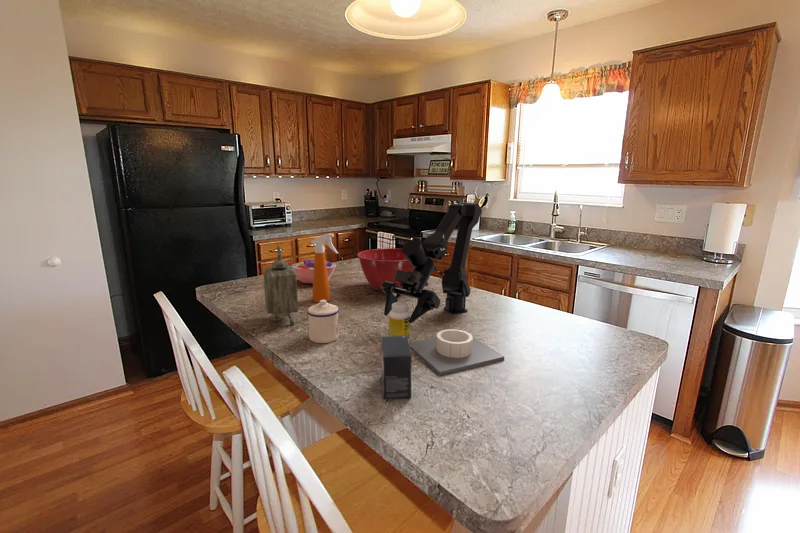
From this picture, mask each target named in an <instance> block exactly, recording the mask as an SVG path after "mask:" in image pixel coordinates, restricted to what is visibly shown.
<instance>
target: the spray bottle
mask: <svg viewBox="0 0 800 533" xmlns="http://www.w3.org/2000/svg"><path fill="white" fill-rule="evenodd" d="M334 237H335V234H334V233H330V232H329V233H324V234H321V235H319V236H318V237H317V236H316V237H315V238H314V239H312V240H311V242H310V243H312V244H314V245H315V247H314V260H313V261H314V277H313V284H312V296H311V301H312V302H314V303H317V304H318V303H319V302H320V300H326V303H328V302H329V301H331V291H330V283H329V279H328V274H327V266H326V261H327V259H326V250H325V249H326V248H325V247H324V244H326V245H327V247H328V248H329V249H330V250H332V251H333V252H334V253H335V254H339V252H338V251H337V249H336V247H335V246H334V245H333V242H332V238H334Z"/></svg>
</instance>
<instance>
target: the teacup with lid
mask: <svg viewBox="0 0 800 533" xmlns="http://www.w3.org/2000/svg"><path fill="white" fill-rule="evenodd" d="M339 312H340V309H339V307H338V305H335V304H331V303H329V302H326V300H320V302H319V303H318V302H317V303H316V304H313V305H311V306H309V307H308V308H307V315H308V316H307V317H308V318H307V319H308V337H309V340H310V341H311V342H313V343H316V344H327V343H328V344H329V343H332V342H334V341H336V340H338V339H339V336H340V335H339Z"/></svg>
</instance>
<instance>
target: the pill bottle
mask: <svg viewBox="0 0 800 533" xmlns="http://www.w3.org/2000/svg"><path fill="white" fill-rule="evenodd" d="M408 307H409V306H408V303H406V302H403V301H397V302H396V303H393V304H392V310H391V311H390V312H389V314H388V336H407V338H408V342H409V340H410V330H411V323H410V322H409V320H410V317H411V314H410V311H408V309H409V308H408Z"/></svg>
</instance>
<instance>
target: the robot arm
mask: <svg viewBox="0 0 800 533" xmlns="http://www.w3.org/2000/svg"><path fill="white" fill-rule="evenodd" d="M482 213H483V210H482V206H480V204H479V203H477V202H464V201H463V202H460V203H451V204H449V206H448V208H447V212H446V214H444V216H443V218H442V220H441V222H439V224H438V226H437V228H436V229H435V231H434V232H433V233H432V234H429V235H428V236H427V237H426V238H425V239H424V240H423V241H422V240H421V238H420V237H413V239H411V240H409V241H406V243H405V244H403V245H402V248H401V249H402V252H403V254H404V255H405V257H406V258H407V260H408V261H409V263H410V264H411V265H413V266H414V267H413V269H412V271H408V272H405V271H400V270H397V271H396V275H395V278H394V281H398V282H400V285H401V286H402V287H403V288H399V287H398V286H397V285H396V283H394V282H390V281H384V282H383V284H382V286H381V288H382V289H383V292H382V293H384V294H385V306H384V311H383V315H384V316H385V317H387V316H389V313H390V312H391V311H392V304H393V303H396V302H399V299H398V298H400V296H405V297H408V298H412V299H417V301H416V305H415V307H414V309H413V312H412V313H411V314H410V320H409V322H410V324H412V323H414V322H415V321H416V320H418V319H419V318H421V317H423V315H425V314H426V313H428V312H429V311H433V310H434V309H436V310H437V309H439V307H440V306H441V300H440V298H439V296H438V295H437V293H436V292H435V291H434V290H429V289H425V287H428V286H429V283H428V281H429V279H430V276H431V274H432V272H437V270H438V267H437V264H436V262H434V261H433V260H437V261H439V260H440V261H441V260H443V259H444V257H445V256H446V253H447V251H448V248H449V247H448V240H449V239H450V237H451V236H452V234H453V233H454V231H455V229H456V228H457V226H458V228H457V231H456V232H457V233H456V238H455V244H454V248H453V252H452V257H451V263H450V266H449V267H448V268H447V269H444V270H443V273H442V274H443V275H442V279H441V288H442V293H443V294H446V298H445V306H444V307H443V310H446V311H447V312H449V313H450V314H452V315H453V314H462V313H467V312H468V311H469V310H468V309H466V301H467V300H466V298H468V297H470V295H471V289H472V288H471V287H470V285H469V283H468V282H467V281H468V274H467V272H466V270H465V268H466V262H467V261H466V260H467V257H468V251H469V247H470V242H471V238H472V233H473V228H475V226H476V225H478V223H479V222H480V217H481V215H482Z"/></svg>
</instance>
